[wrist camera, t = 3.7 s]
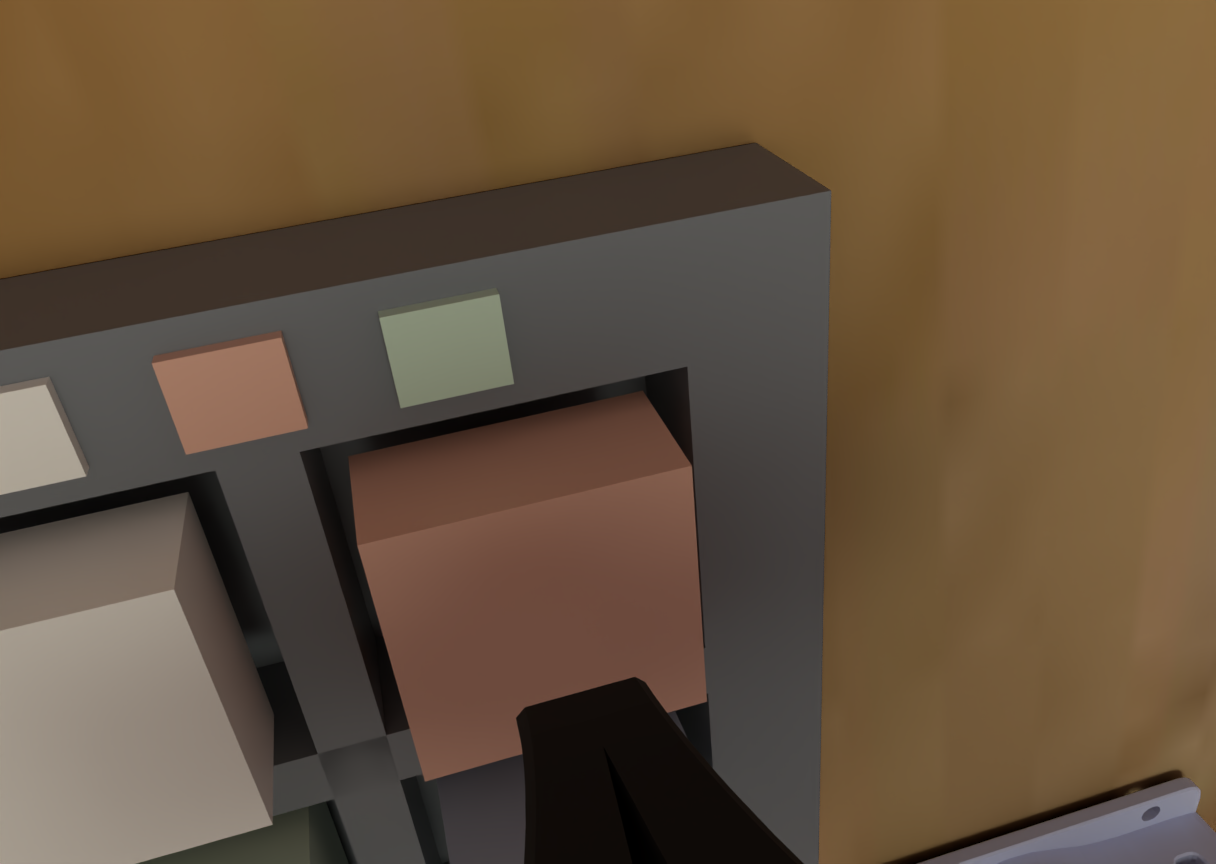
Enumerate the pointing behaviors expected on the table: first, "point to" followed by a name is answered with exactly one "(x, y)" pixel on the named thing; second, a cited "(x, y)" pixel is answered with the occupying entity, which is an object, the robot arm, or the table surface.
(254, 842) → the key sage
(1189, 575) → the table surface
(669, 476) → the key terracotta
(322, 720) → the keypad bezel
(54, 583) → the key cream
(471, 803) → the key slate
